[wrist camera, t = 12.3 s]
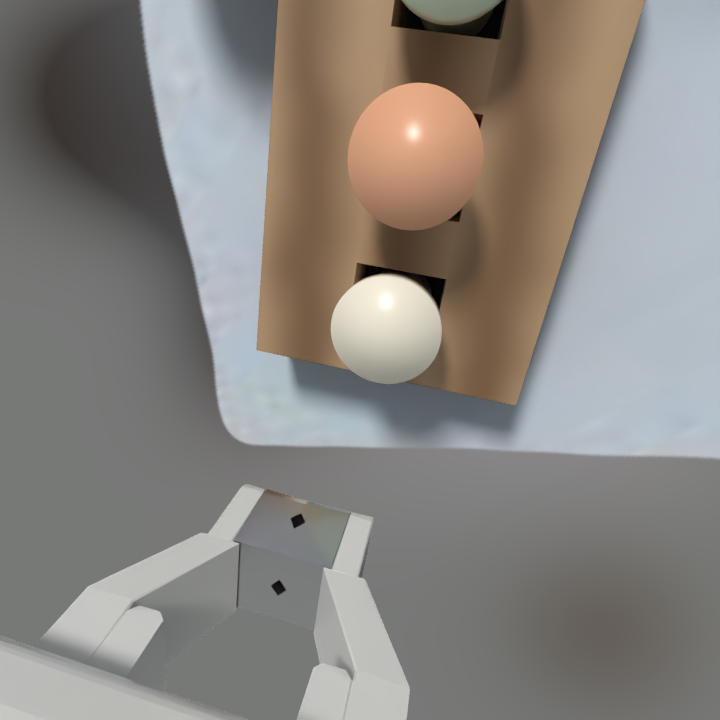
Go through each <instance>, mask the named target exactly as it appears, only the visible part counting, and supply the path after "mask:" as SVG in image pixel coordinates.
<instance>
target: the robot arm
mask: <svg viewBox="0 0 720 720" xmlns="http://www.w3.org/2000/svg"><path fill="white" fill-rule="evenodd" d="M373 520H374V519H373V517H369V516H365V515H361V514H357V513H353V512H352V513H351V512H348V511H344V510H340V509H336V508H332V507H328V506H325V505H320V504H317V503H313V502H308V501H305V500H302V499H298V498H295V497H291V496H288V495H285V494H281V493H278V492H274V491H271V490H268V489H267V490H265V489H262V488H259V487H255V486H252V485H249V484H245V485H244V486H243V487H241V488H240V490H239V491H238V492H237V494H236V495H235V496H234V498H233V499H232V501H231V502H230V504H229V505H228V506H227V508H226V509H225V511H224V512H223V514H222V515H221V516H220V518H219V519H218V521H217V522H216V524H215V525H214V526H213V528H212V529H211V530H210V532H209V533H208V534H205V533H199V534H197V535H195V536H193V537H191V538H189V539H187V540H185V541H183V542H181V543H178V544H177V545H174V546H172V547H170V548H168V549H166V550H164V551H162V552H160V553H157V554H155V555H153V556H151V557H149V558H147V559H145V560H143V561H141V562H138V563H136V564H134V565H132V566H130V567H128V568H126V569H124V570H122V571H120V572H117V573H115V574H113V575H111V576H109V577H107V578H105V579H103V580H101V581H99V582H97V583H94V584H92V585H90V586H88V587H87V588H86V589H85V590H84V592H83V593H82V594H81V595H80V596H79V597H78V598H77V599H76V600H75V602H74V603H73V604H72V605H71V606H70V607H69V608H68V609H67V610H66V612H65V613H64V614H63V615H62V616H61V617H60V618H59V619H58V620H57V621H56V622H55V624H54V625H53V626H52V627H51V628H50V629H49V630H48V631H47V632H46V634H45V635H44V636H43V637H42V638H41V639H40V640H39V641H38V642H37V643H36V645H35V646H34V647H32V646H29V645H27V644H24V643H21V642H18V641H15V640H12V639H9V638H6V637H3V636H0V720H248V719H245V718H242V717H239V716H237V715H234V714H230V713H228V712H224V711H222V710H218V709H216V708H213V707H210V706H207V705H204V704H201V703H198V702H195V701H192V700H189V699H186V698H183V697H180V696H177V695H174V694H171V693H168V692H167V691H166V690H167V689H166V668H165V665H166V664H167V663H168V662H170V661H171V660H172V659H174V658H175V657H176V656H177V655H179V654H180V653H182V652H183V651H184V650H186V649H187V648H188V647H189V646H191V645H192V644H193V643H195V642H196V641H197V640H199V639H200V638H201V637H202V636H204V635H205V634H206V633H208V632H209V631H210V630H212V629H213V628H214V627H216V626H217V625H218V624H219V623H221V622H222V621H223V620H225V619H226V618H227V617H229V616H230V615H231V614H232V613H234V612H235V611H236V608H238V609H242V610H246V611H250V612H253V613H257V614H260V615H264V616H268V617H272V618H275V619H278V620H281V621H284V622H287V623H290V624H293V625H296V626H299V627H302V628H305V629H308V630H311V631H314V638H315V642H316V647H317V652H318V657H319V661H320V665H318V666H316V667H314V668H313V671H312V674H311V677H310V680H309V684H308V687H307V690H306V693H305V696H304V699H303V702H302V705H301V708H300V711H299V715H298V718H297V720H406V719H407V710H408V700H409V692H410V688H409V685H408V683H407V680H406V678H405V675H404V673H403V671H402V668H401V666H400V663H399V661H398V658H397V656H396V653H395V651H394V648H393V646H392V644H391V641H390V639H389V636H388V634H387V631H386V629H385V626H384V624H383V622H382V619H381V616H380V614H379V612H378V609H377V607H376V604H375V602H374V599H373V597H372V594H371V592H370V590H369V587H368V585H367V582H366V580H365V579H363V578H362V574H363V570H364V565H365V560H366V555H367V550H368V546H369V541H370V536H371V531H372V527H373Z"/></svg>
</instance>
